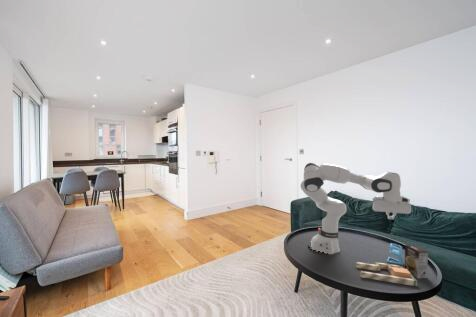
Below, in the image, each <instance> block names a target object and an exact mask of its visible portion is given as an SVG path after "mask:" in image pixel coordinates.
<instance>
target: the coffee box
mask: <svg viewBox="0 0 476 317" xmlns="http://www.w3.org/2000/svg"><path fill="white" fill-rule="evenodd" d="M404 247H405V248H404V267H403V268H404V269H407V270H408V271H409V272H410V273H411V274H412V276H413V277H414V278H415V279H427V278H428V277H427V276H428V264H429V263H428V258H429V251H428V250H426V249H424V248H423V247H421V246H418V245H416V244H405V245H404Z"/></svg>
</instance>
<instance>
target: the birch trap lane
mask: <svg viewBox="0 0 476 317" xmlns="http://www.w3.org/2000/svg"><path fill="white" fill-rule="evenodd" d="M355 266H356V269H362V270H360V275H359V276H360V277H361V278H363V279H369V280H375V281H376V280H377V281H382V282H387V283H388V282H389V283H395V284H400V285H407V286H413V287H418V280H417V278H416V277H415V276H413V275H412V274H411V279H410V278H403V277H397V276H391V267H397V268H404V267H403V265H399V264H393V263H390V264H389V263H383V262H377V261H374V263H367V262H360V261H356V265H355ZM363 270H369V271H363ZM381 270H387V271H388V273H389V275H388V274H382V273H378V272H381ZM370 271H371V272H370ZM372 271H375V272H372ZM376 272H377V273H376Z"/></svg>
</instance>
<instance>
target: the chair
mask: <svg viewBox="0 0 476 317" xmlns="http://www.w3.org/2000/svg"><path fill="white" fill-rule="evenodd" d="M402 249H403V246H401V245H400V244H397V243H392V242H391V243H390V244H389V252H388V253H389V254H390V255H394V256H395V257H396V258H394V257H391V256H388V258H387V260H386V262H387V263H388V264H389V263H390V264H393V265H399V266H404V261H403V260H404V259H403V257H402V254H403V251H402Z"/></svg>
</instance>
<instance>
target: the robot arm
mask: <svg viewBox="0 0 476 317" xmlns="http://www.w3.org/2000/svg"><path fill="white" fill-rule="evenodd" d="M324 181H329V182H332V183H336V184H347V183H352V184H356V185H360V186H361V187H363V189H365V190H369V191H371V192H374V193H378V194H379V193H382V196H375V197H373V198H372V207H371V208H372V210H373V211H374V212H380V213H382V212H383V213H385V214H386V216H387V220H393V221H394V220H395V217H396V216H397V214H405V215H406V214H407V215H408V214H409V215H410V214H411V213H412V205H411V203H410V202H411V199H410V198H408V197H406V196H403V195H401V187H402V186H401V185H402V182H401V175H400V174H399V173H397V172H393V171H392V172H391V171H385V172H384V173H383V174H380V175H378V176H376V175H371V174H365V175H360V174H357V173H353V172H351V171H350V169H349V168H346V167H344V166H341V165H337V164H330V163H322V164H321V165H318V164H317V163H316V162H309V163H307V164H306V165H305V166H304V171H303V181H301V183H300V189H301V190H302V192H303V193H304V194H305V195H306V196H307V197H308V198H310V199H311V200H312V201H313V202H314V203H315V206H316V207H317V208H319V209H320V210H322V211H324V212H326V216H325V217H323V218H322V220H321V228H320V227H318V229H317V230H318V234H316V235H314V236H312V238H311V241H310V242H311V247H312V249H313V250H316V251H315V252H318V251H320V252H319V253H322V252H324V254H327V253H328V254H327V255H335V254H337V253H339V252H340V251H341V249H340V245H339V238H340V237H339V236H340V235H339V234H340V233H339V221H340V219H341V217H343V216H344V215H345V213H347V210H348V209H347V204H346V203H345V202H343V201H341V200H339V199H336V198H334V197H333V198H332V197H330V196H328V195H327V191H326V190H325V189H324V188H322V186H323V185H324ZM391 213H392V215H390V214H391ZM313 250H312V251H313Z"/></svg>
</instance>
